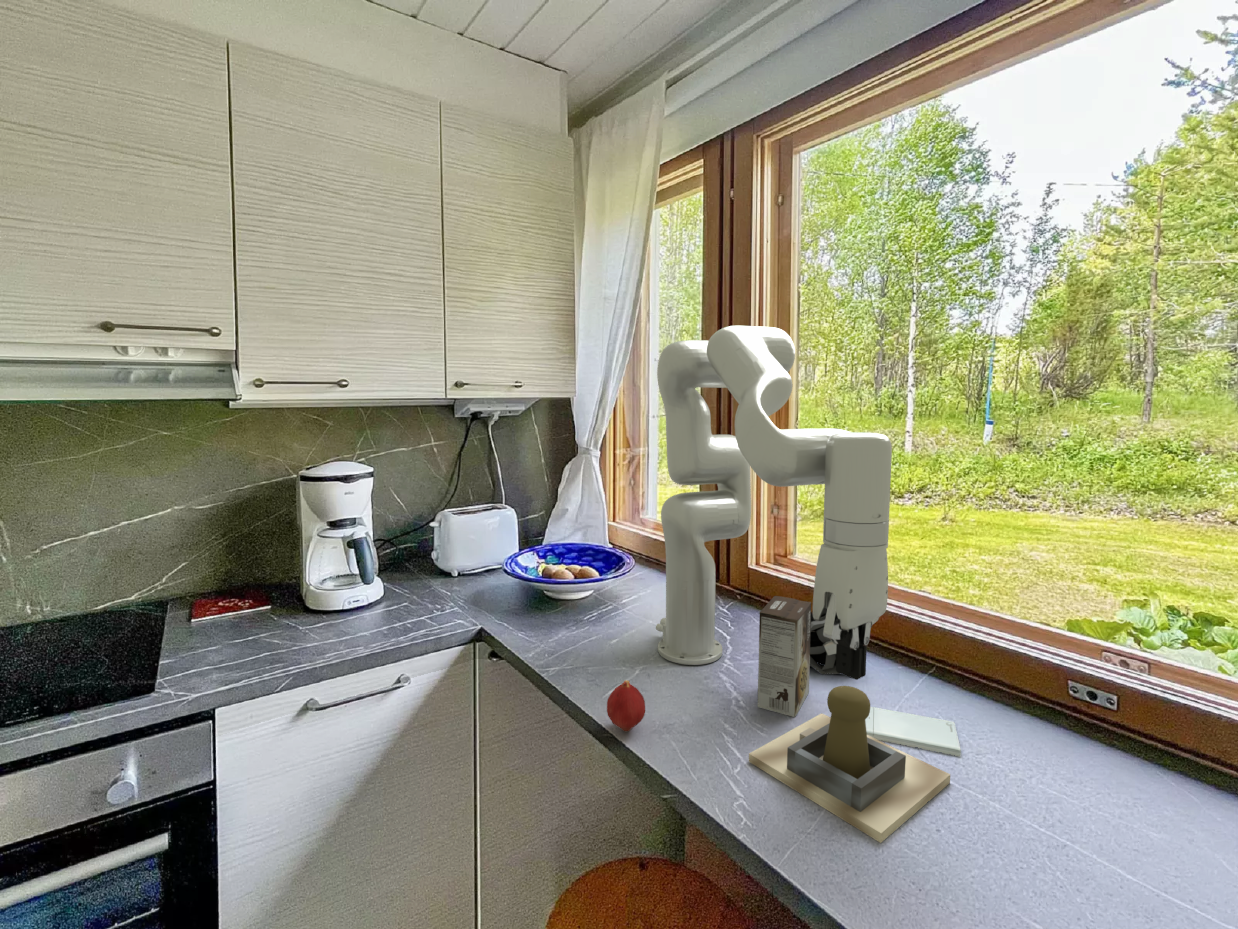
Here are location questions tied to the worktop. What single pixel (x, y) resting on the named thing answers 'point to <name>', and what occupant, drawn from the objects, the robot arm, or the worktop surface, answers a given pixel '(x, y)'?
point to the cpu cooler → (822, 649)
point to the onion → (626, 706)
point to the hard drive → (913, 731)
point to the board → (852, 778)
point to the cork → (848, 731)
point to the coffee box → (784, 655)
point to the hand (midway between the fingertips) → (850, 674)
